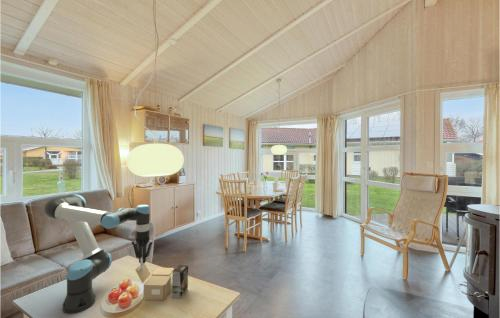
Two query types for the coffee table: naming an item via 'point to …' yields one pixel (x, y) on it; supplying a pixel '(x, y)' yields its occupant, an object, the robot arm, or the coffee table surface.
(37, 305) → the coffee table surface
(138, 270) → the panel
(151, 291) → the carton
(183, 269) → the coffee box
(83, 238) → the robot arm
